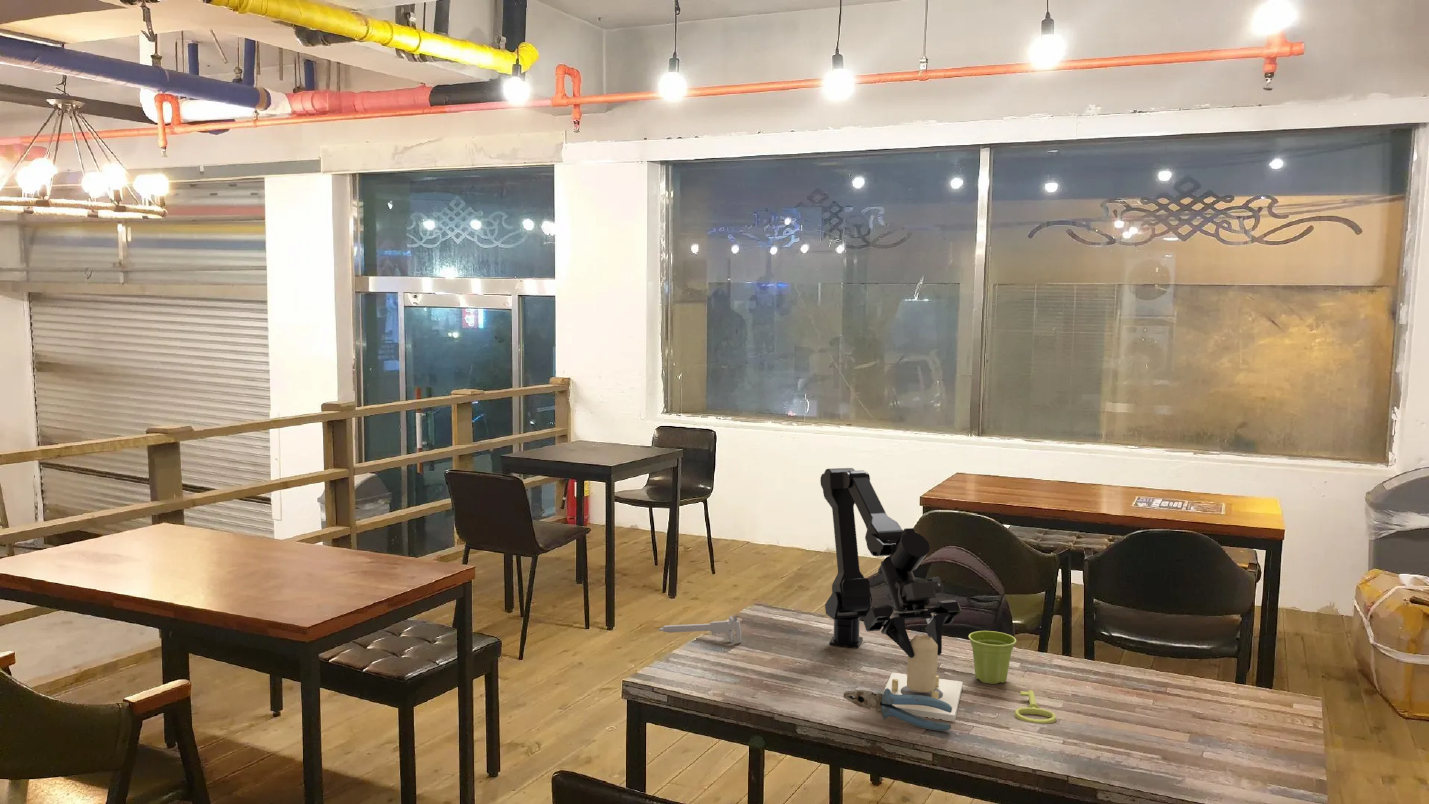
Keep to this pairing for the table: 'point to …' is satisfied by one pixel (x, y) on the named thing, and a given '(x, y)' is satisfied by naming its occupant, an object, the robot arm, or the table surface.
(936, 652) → the candle
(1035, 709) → the key
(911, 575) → the robot arm
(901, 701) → the pliers
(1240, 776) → the table surface
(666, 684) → the table surface
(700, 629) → the caliper
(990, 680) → the plant pot
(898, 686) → the stud tile
